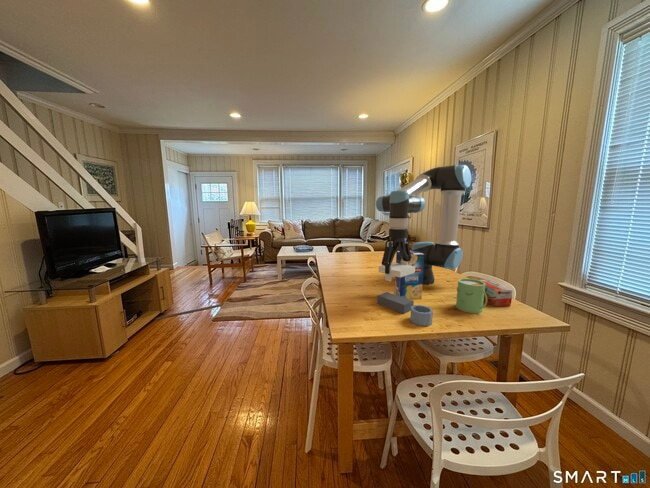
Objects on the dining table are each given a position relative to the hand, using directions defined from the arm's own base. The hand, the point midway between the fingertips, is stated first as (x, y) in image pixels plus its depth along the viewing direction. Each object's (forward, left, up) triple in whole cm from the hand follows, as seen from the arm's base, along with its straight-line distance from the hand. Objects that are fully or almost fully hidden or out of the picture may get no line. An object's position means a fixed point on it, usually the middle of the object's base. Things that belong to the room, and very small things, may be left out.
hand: (396, 277), depth 111 cm
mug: (-23, +23, -13) cm, 35 cm away
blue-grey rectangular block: (0, 0, -13) cm, 13 cm away
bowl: (+4, +15, -13) cm, 20 cm away
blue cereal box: (-15, -3, -13) cm, 20 cm away
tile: (0, 0, +3) cm, 3 cm away
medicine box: (-41, +24, -14) cm, 49 cm away
